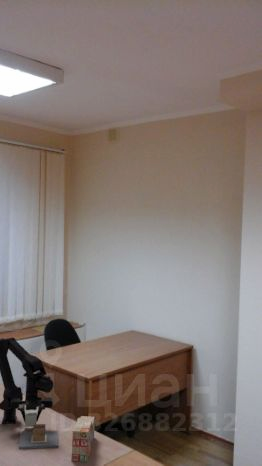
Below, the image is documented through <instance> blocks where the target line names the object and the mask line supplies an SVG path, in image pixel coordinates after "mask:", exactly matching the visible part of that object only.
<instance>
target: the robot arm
mask: <svg viewBox="0 0 262 466" xmlns="http://www.w3.org/2000/svg"><path fill="white" fill-rule="evenodd" d="M9 351H10V352H11V353H12V354H13V355H14V356H15V357H16V359H18V360H19V362H21V367H22V368H23V370H24V371H25V373H24V374H23V377H25V378H26V382H25V383H26V384H25V400H23V399H24V394H23V391H22V388H21V386H19V387H18V386H17V385H16V383H15V379H14V376H13V372H12V369H11V368H12V367H11V365H10V361H9V358H8V353H9ZM0 377H1V381H2V384H3V388H4V390H3V394H2V398H3V400H2V401H1V402H0V410H1V411H3V417H2V421H1V424H16V423H17V420H18V416H17V411H19V412H20V413H21V416H22V418H23V422H24V423H25V415H26V411H37V421H36V423H37V422H39V419H40V416H41V414H42V411H43V410H44V411H45V410H46V409H51V408H53V407H54V406H53V404H54V403H53V402H54V399H53V398H52V397H50V396H49V397H47V396H45V397H44V398H43V399H42V397H39V393H40V392H44V393H46V394H47V393H48V394H49V393H51V392H52V390H53V388H54V381H53V380H52V379H51V376H50V375H49V376H48V375H47V372H46V369H45V367H44V364H43V361H42V360H41V359H40V358H39V357H37V356H35V355H32V354H30V353H29V352H28V351H27V350H26V349H25V348H24V347H23V346H22V345H21V344H20V343H19V342H18V341H17V339H16V338H15V337H13V336H12V337H8V338H4V337H3V338H2V337H0ZM39 391H40V392H39Z"/></svg>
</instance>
